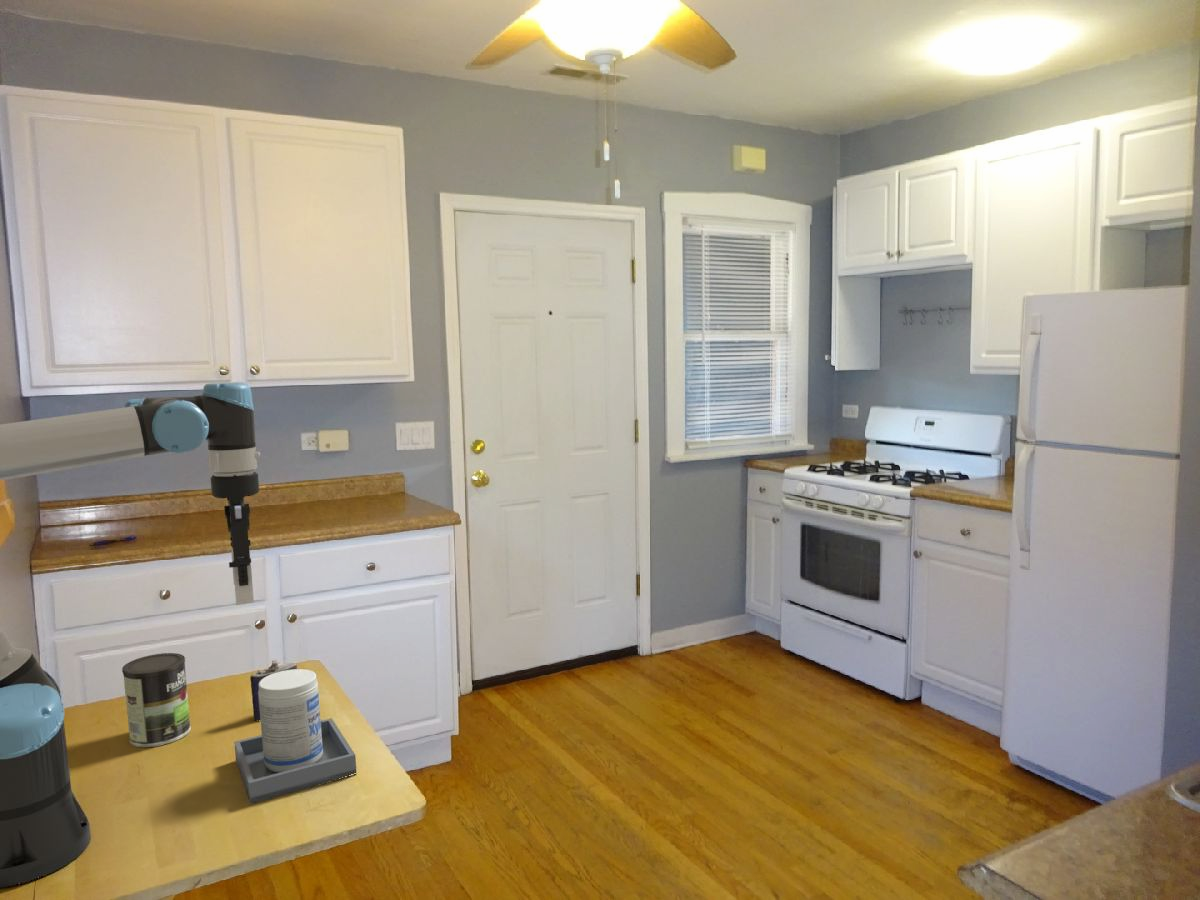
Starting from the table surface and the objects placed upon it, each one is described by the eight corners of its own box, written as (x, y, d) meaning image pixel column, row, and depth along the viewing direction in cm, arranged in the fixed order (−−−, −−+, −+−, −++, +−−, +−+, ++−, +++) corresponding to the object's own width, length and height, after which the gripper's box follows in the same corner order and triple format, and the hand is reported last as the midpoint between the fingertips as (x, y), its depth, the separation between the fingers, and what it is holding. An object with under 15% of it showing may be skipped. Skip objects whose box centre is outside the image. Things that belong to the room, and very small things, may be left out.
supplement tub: (326, 767, 140) (320, 683, 138) (265, 780, 136) (259, 694, 134) (319, 743, 149) (314, 664, 147) (262, 755, 145) (256, 674, 143)
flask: (296, 703, 168) (293, 652, 167) (303, 707, 166) (299, 656, 165) (251, 718, 162) (247, 666, 160) (257, 723, 160) (253, 670, 158)
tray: (356, 774, 139) (355, 754, 139) (250, 804, 131) (248, 783, 131) (333, 736, 154) (331, 718, 153) (235, 760, 145) (234, 741, 145)
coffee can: (201, 722, 161) (195, 651, 159) (173, 747, 151) (166, 673, 149) (149, 722, 161) (142, 652, 159) (117, 748, 151) (109, 673, 149)
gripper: (262, 480, 133) (271, 609, 136) (254, 462, 156) (262, 573, 158) (210, 484, 130) (220, 616, 133) (210, 465, 152) (218, 578, 155)
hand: (243, 593), depth 145 cm, fingers open, 13 cm apart
